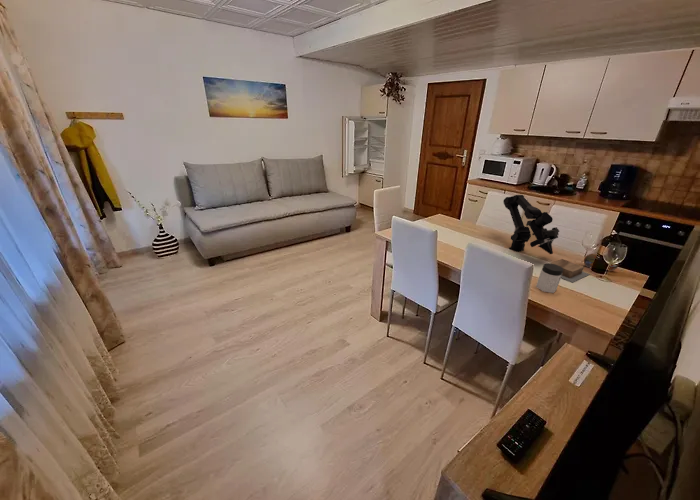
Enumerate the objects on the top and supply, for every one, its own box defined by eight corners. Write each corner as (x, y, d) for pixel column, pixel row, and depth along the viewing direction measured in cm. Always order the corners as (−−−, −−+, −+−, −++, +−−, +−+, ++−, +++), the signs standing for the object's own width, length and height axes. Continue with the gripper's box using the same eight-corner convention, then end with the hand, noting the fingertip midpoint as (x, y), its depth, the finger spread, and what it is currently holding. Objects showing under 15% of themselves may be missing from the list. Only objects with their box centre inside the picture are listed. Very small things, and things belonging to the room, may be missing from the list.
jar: (537, 291, 143) (545, 269, 138) (533, 282, 150) (540, 261, 145) (558, 294, 141) (567, 272, 136) (553, 286, 148) (561, 264, 143)
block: (550, 263, 161) (572, 271, 153) (562, 258, 167) (584, 266, 158) (548, 269, 163) (569, 278, 154) (560, 265, 168) (581, 273, 160)
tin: (582, 266, 168) (587, 253, 165) (581, 264, 171) (586, 251, 167) (615, 273, 162) (621, 259, 159) (613, 270, 165) (619, 257, 161)
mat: (546, 272, 161) (546, 271, 161) (563, 265, 169) (564, 264, 169) (572, 282, 151) (572, 282, 151) (589, 274, 159) (589, 274, 159)
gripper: (542, 225, 158) (556, 252, 155) (560, 220, 167) (574, 245, 163) (523, 234, 168) (537, 259, 164) (541, 229, 177) (555, 252, 173)
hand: (551, 254), depth 166 cm, fingers closed
